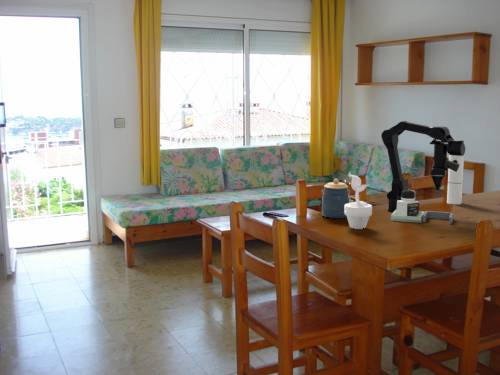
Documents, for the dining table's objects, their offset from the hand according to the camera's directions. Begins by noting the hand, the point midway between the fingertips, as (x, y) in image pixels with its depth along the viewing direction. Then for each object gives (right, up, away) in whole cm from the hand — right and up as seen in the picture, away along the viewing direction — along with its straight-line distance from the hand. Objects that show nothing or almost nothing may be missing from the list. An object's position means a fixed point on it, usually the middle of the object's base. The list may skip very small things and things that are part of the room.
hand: (438, 188), depth 272 cm
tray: (-15, -14, -2) cm, 20 cm away
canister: (-47, -13, +4) cm, 49 cm away
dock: (-3, -14, -7) cm, 16 cm away
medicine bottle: (-15, -13, -2) cm, 20 cm away
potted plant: (-41, -17, -20) cm, 48 cm away
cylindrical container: (+18, -8, +33) cm, 39 cm away
